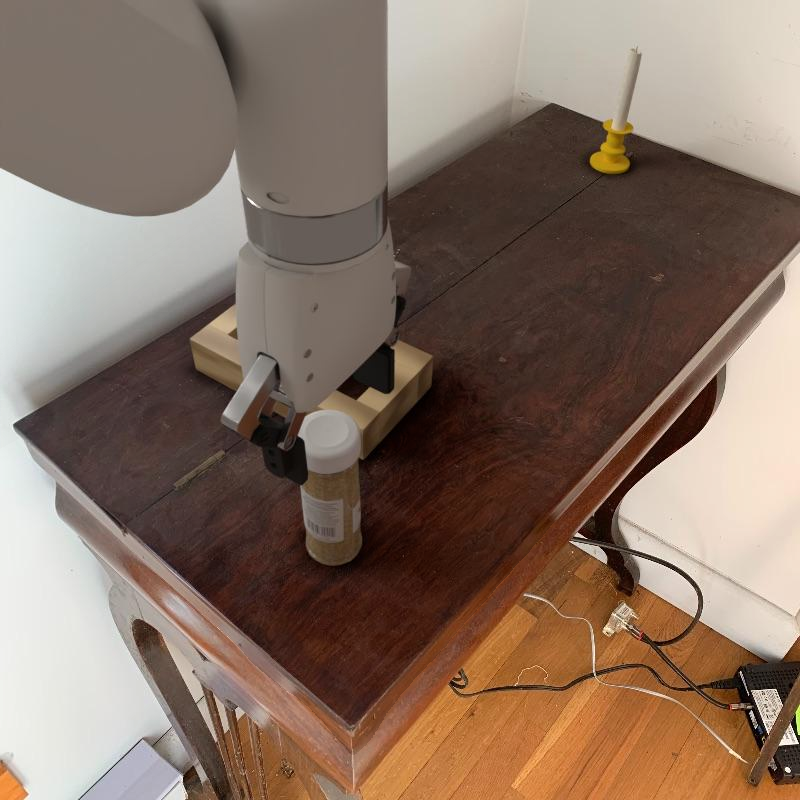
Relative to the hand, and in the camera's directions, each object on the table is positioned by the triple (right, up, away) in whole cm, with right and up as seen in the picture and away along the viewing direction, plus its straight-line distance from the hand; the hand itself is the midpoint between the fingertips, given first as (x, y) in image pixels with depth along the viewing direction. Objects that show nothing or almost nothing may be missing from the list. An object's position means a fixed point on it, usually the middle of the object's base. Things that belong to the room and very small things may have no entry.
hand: (332, 426), depth 54 cm
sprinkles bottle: (-1, -10, +10) cm, 14 cm away
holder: (-4, +4, +23) cm, 24 cm away
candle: (+33, +33, +53) cm, 70 cm away
